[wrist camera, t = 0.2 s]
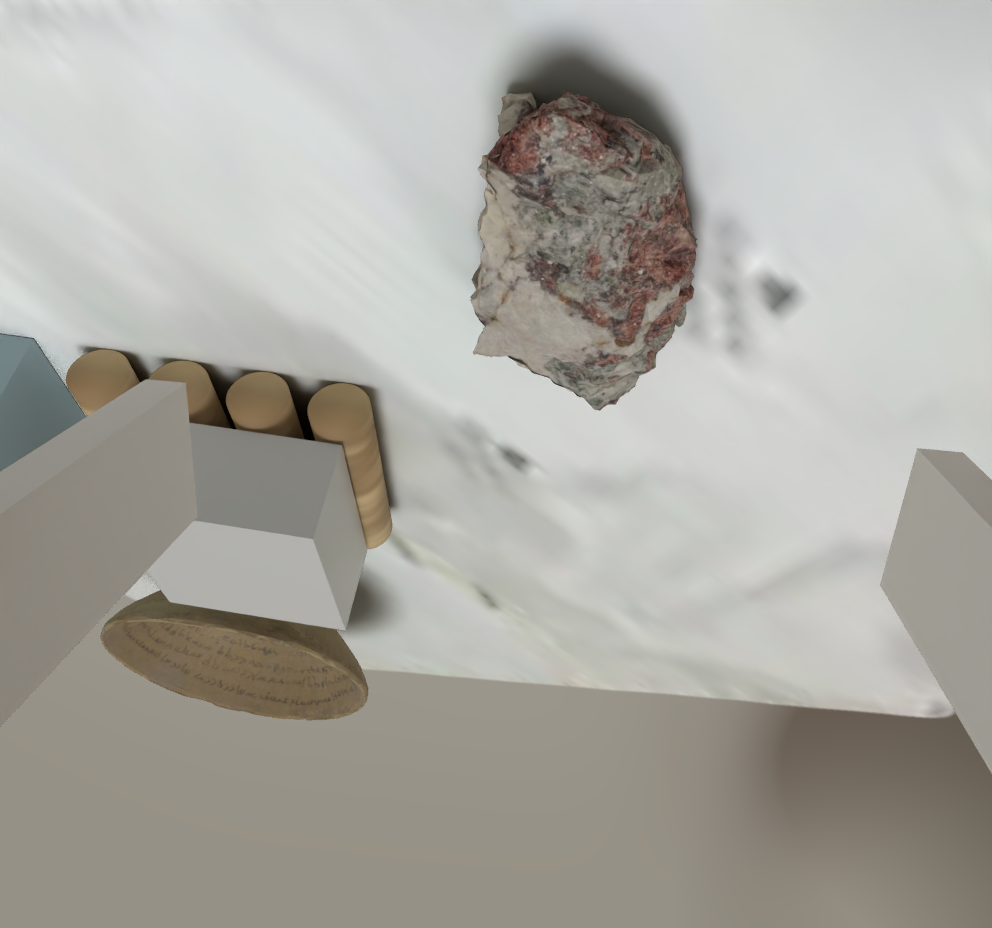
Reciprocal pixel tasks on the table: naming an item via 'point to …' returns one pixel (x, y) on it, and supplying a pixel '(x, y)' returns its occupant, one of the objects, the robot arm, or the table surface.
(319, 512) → the slab
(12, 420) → the fence
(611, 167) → the mineral rock
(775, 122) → the table surface
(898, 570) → the robot arm
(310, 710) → the bowl
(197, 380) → the roller bed
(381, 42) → the table surface
